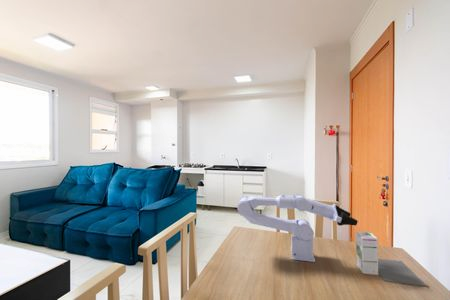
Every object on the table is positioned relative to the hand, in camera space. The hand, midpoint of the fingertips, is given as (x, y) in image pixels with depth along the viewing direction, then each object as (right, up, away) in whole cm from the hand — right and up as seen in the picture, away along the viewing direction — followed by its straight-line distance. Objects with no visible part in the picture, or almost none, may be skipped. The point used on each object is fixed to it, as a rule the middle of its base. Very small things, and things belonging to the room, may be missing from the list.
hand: (353, 219), depth 90 cm
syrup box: (+1, -18, -7) cm, 20 cm away
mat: (+12, -18, -7) cm, 23 cm away
